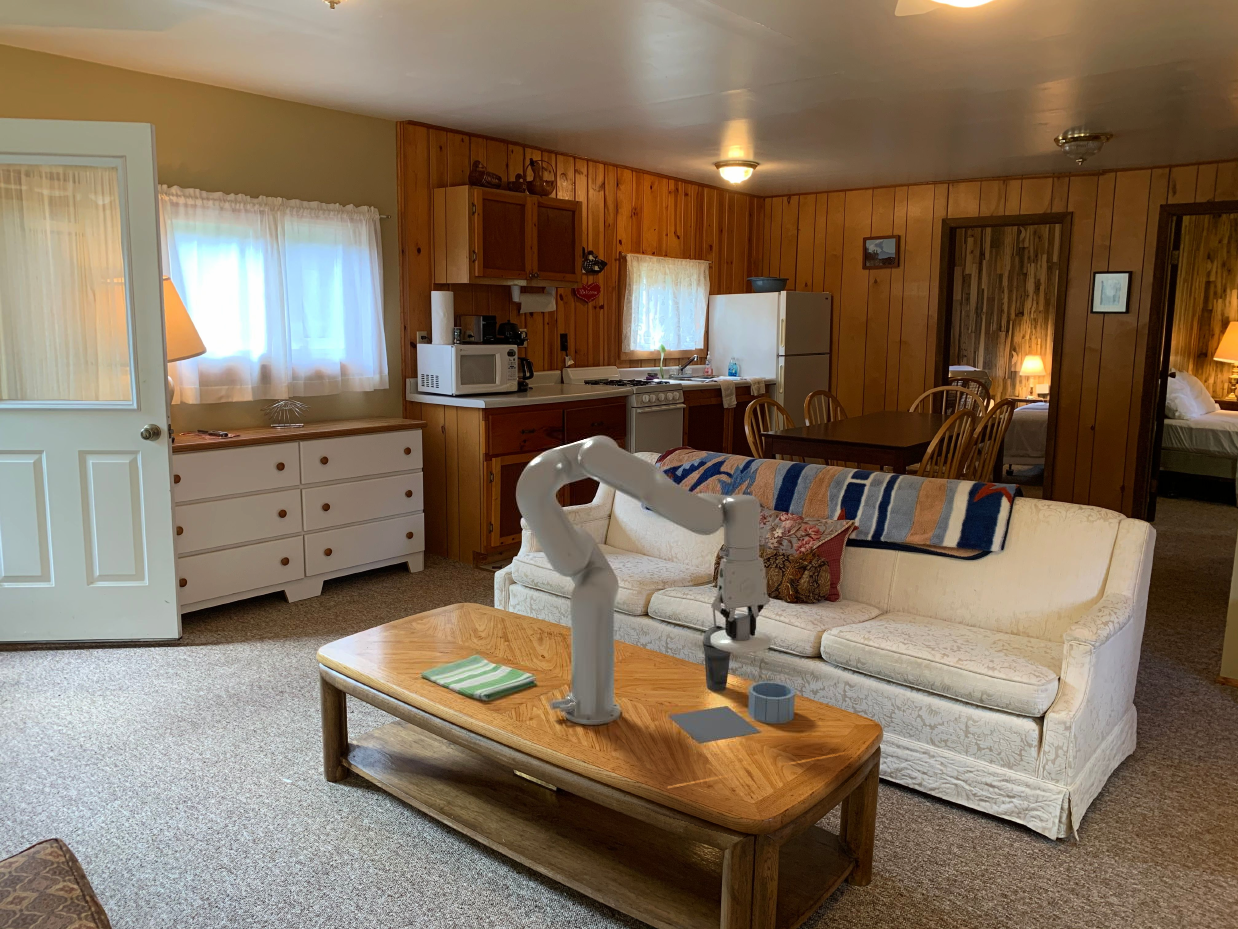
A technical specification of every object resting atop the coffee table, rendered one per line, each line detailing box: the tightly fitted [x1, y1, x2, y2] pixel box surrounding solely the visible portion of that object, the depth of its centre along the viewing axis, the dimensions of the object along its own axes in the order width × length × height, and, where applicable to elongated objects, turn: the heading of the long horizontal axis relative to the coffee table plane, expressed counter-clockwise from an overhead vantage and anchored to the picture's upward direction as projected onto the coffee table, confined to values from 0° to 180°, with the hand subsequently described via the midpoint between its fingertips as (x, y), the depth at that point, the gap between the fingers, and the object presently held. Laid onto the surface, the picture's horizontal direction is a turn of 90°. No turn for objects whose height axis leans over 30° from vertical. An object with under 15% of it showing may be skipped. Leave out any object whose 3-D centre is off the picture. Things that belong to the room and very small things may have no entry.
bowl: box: [747, 680, 796, 725], centre depth 207 cm, size 10×10×6 cm
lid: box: [711, 612, 772, 654], centre depth 201 cm, size 13×13×6 cm
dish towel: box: [420, 654, 538, 702], centre depth 226 cm, size 18×23×3 cm
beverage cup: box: [702, 608, 732, 692], centre depth 221 cm, size 7×7×20 cm
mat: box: [667, 705, 762, 744], centre depth 202 cm, size 15×15×1 cm
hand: (740, 634), depth 201 cm, fingers closed on lid, 4 cm apart
